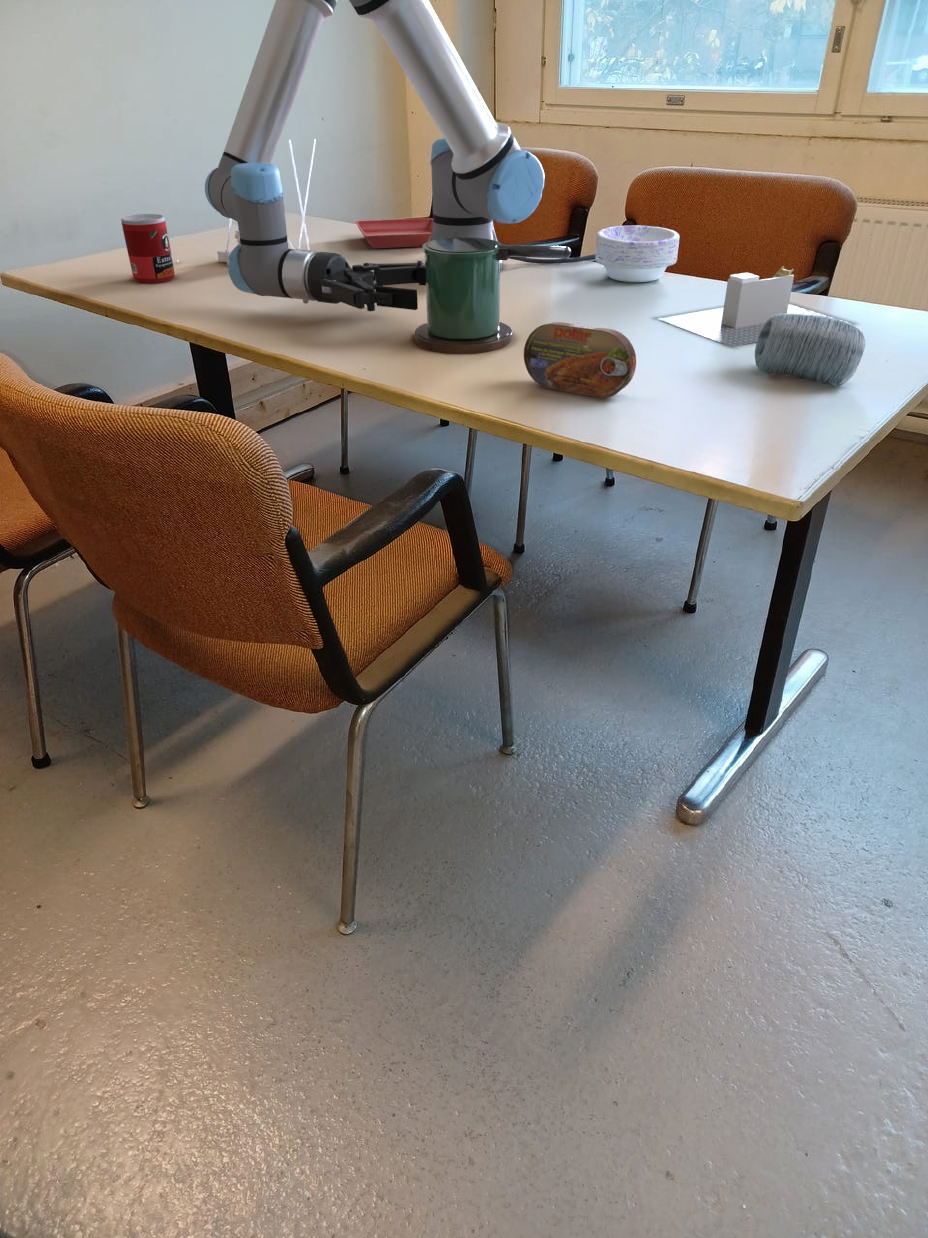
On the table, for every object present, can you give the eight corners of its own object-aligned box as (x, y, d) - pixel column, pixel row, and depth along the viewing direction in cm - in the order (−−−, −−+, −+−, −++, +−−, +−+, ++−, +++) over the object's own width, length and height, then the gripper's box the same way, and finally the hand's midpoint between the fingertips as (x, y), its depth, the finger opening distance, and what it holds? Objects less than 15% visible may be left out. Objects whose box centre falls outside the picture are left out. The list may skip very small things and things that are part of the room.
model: (721, 323, 141) (728, 272, 137) (771, 314, 145) (780, 264, 141) (735, 328, 139) (743, 276, 134) (785, 318, 143) (795, 268, 138)
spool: (733, 353, 117) (777, 282, 114) (752, 368, 125) (794, 302, 122) (822, 401, 111) (871, 327, 108) (837, 413, 119) (883, 346, 116)
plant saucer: (432, 231, 207) (432, 216, 205) (447, 247, 192) (447, 230, 190) (355, 236, 204) (354, 220, 202) (365, 251, 189) (364, 235, 187)
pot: (416, 337, 131) (413, 249, 124) (436, 316, 140) (433, 233, 134) (561, 345, 127) (565, 255, 120) (571, 323, 136) (576, 238, 129)
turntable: (482, 320, 144) (482, 312, 143) (530, 343, 133) (531, 335, 132) (398, 333, 138) (398, 325, 137) (442, 359, 127) (441, 350, 126)
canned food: (164, 284, 167) (152, 221, 161) (125, 282, 168) (112, 220, 162) (183, 275, 173) (172, 214, 167) (145, 273, 174) (133, 213, 168)
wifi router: (265, 242, 198) (251, 130, 186) (339, 254, 187) (329, 135, 175) (176, 263, 182) (154, 141, 169) (251, 277, 171) (233, 147, 158)
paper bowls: (639, 291, 159) (644, 243, 154) (577, 276, 168) (579, 232, 164) (691, 277, 167) (697, 232, 163) (629, 264, 177) (632, 221, 172)
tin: (521, 384, 118) (523, 319, 113) (532, 377, 120) (534, 314, 116) (626, 404, 111) (632, 336, 107) (635, 396, 113) (642, 330, 109)
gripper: (360, 283, 152) (471, 295, 144) (275, 320, 133) (398, 336, 126) (356, 237, 148) (471, 246, 140) (268, 268, 129) (396, 281, 122)
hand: (437, 289), depth 133 cm, fingers open, 13 cm apart
